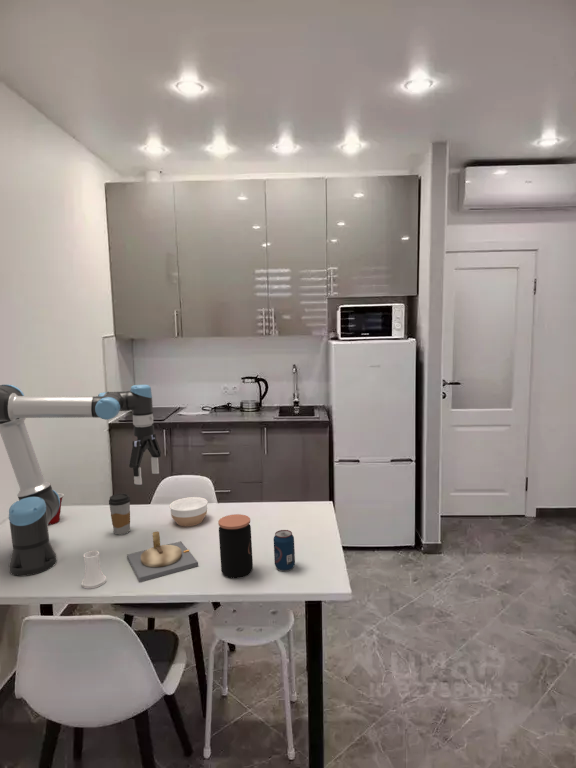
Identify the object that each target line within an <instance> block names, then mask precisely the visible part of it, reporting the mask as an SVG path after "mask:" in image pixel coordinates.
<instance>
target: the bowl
mask: <svg viewBox="0 0 576 768" xmlns="http://www.w3.org/2000/svg"><path fill="white" fill-rule="evenodd" d="M208 502H209V501H208V500H207V499H206V498H204V497H200V496H192V497H191V496H189V497H183V498H179V499H176V500H174V501H172V502H171V503H170V504H169V509H170V516H171V518H172V520H173V521H174V522H176V523H177V525H178V526H181V527H193V526H197V525H199V524H201V523H202V522H203V520H204V519H205V517H207V513H208Z"/></svg>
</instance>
